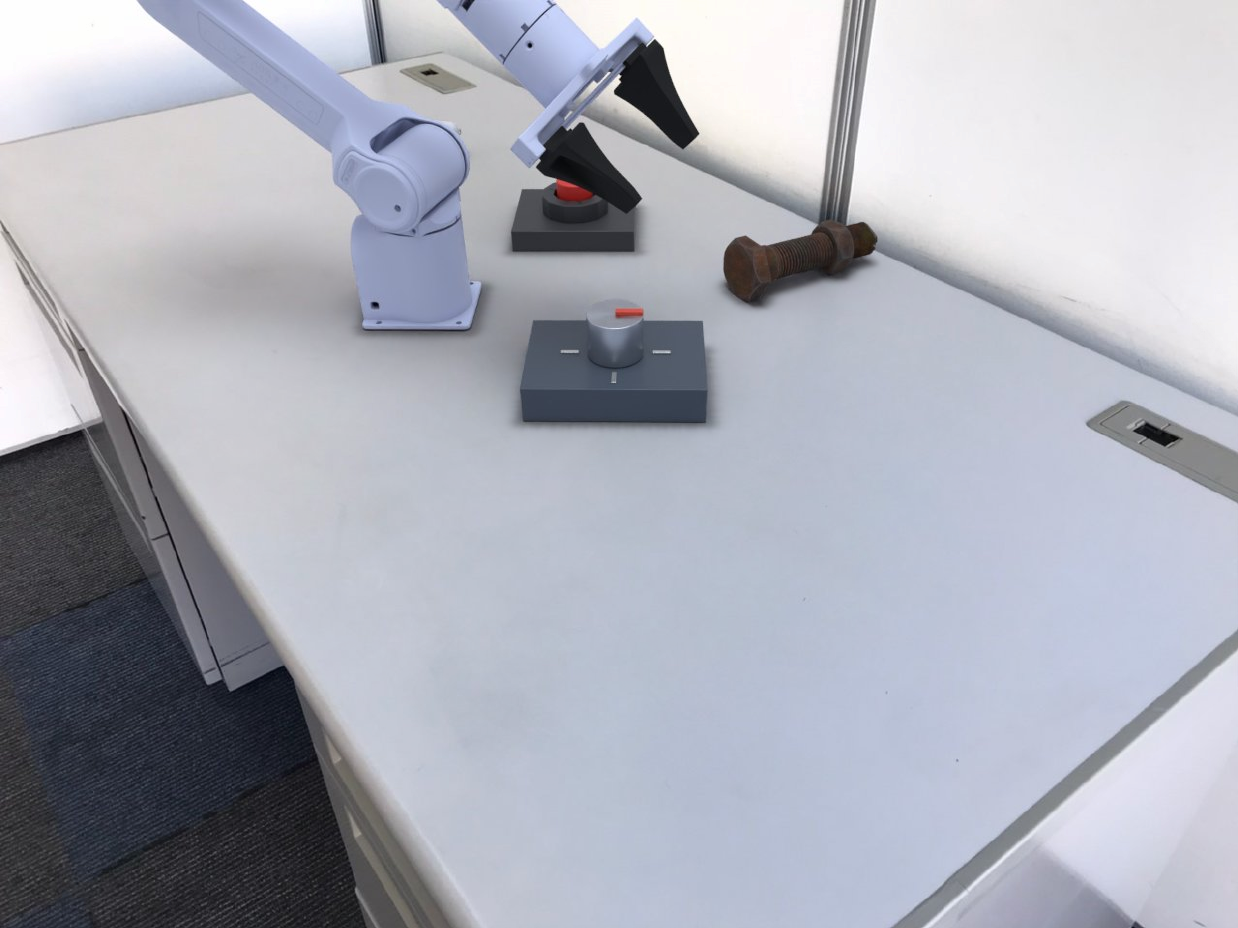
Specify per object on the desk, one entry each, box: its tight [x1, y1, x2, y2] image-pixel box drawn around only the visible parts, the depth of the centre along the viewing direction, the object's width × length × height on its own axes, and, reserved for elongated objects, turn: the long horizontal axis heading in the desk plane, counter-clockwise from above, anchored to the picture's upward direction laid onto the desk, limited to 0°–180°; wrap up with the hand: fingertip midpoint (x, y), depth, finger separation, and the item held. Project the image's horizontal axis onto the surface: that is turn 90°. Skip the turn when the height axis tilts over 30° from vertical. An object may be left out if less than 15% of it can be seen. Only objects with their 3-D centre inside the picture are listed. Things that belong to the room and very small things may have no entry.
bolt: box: [722, 219, 879, 303], centre depth 92 cm, size 6×5×15 cm
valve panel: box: [519, 319, 708, 423], centre depth 79 cm, size 14×10×3 cm
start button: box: [555, 179, 593, 201], centre depth 99 cm, size 4×4×2 cm
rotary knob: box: [585, 299, 645, 368], centre depth 77 cm, size 4×4×4 cm
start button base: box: [510, 181, 637, 253], centre depth 101 cm, size 12×10×4 cm
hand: (663, 173), depth 74 cm, fingers open, 7 cm apart
